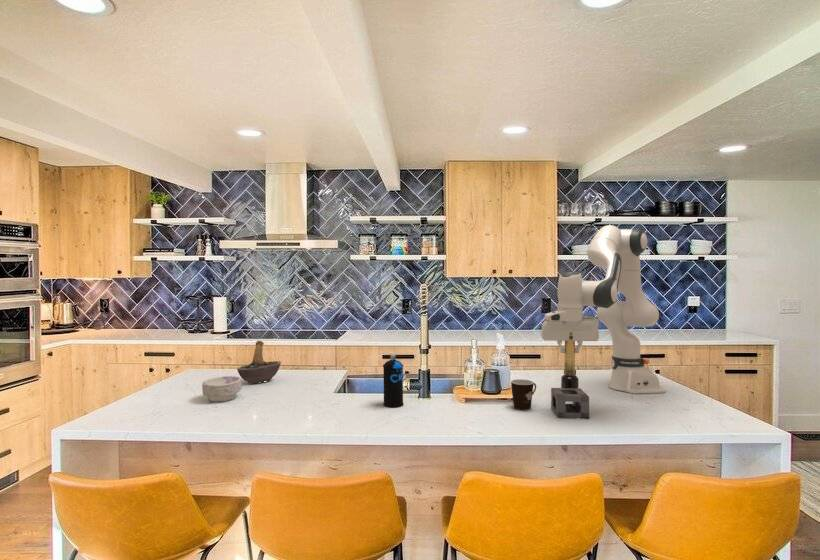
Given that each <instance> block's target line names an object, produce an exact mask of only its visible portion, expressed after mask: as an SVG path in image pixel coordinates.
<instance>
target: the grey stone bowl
mask: <svg viewBox="0 0 820 560" xmlns="http://www.w3.org/2000/svg"><path fill="white" fill-rule="evenodd" d="M201 386H202V388H201V389H202V395H203V396H204V397H205V396H206V397H207V399H208V400H209V401H210V402H216V403H218V402H220V403H221V402H227V401H230V400H233V399H234V398H236V396H237V395H238V393H240V392H241V391H242V388H243V386H242V378H241V376H236V375H234V376H233V375H228V376H227V375H226V376H217V377H213V378H208V379H206V380H204V381H203V382H202V385H201Z"/></svg>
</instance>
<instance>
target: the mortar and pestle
mask: <svg viewBox="0 0 820 560" xmlns="http://www.w3.org/2000/svg"><path fill="white" fill-rule="evenodd" d="M264 343H265V342H263V341H262V340H257V341H256V342H255V349H254V354H253V357H252V362H251V363H249V364H245V365H243V366H240V367H237V369H236V370H237V373H238V375H239V377H240V378H241V380H244V382H247V383H248V384H249V383H258V384H260V383H259V382H264V381H268V380H270V381H271V380H272V378H273V377H275V376H276V375H277V373H278V371H279V369H280V366H281V364H282V363H281V361H275V360H274V361H265V360H264V357H263V346H264ZM268 382H269V381H268ZM264 383H265V382H264Z"/></svg>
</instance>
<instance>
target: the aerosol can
mask: <svg viewBox="0 0 820 560" xmlns="http://www.w3.org/2000/svg"><path fill="white" fill-rule="evenodd" d="M382 367H383V403H382V406H384V407H385V408H389V409H391V408H392V409H394V408H395V409H396V408H400V407H403V406H404V405H405V404H404V375H403V374H404V364H402V362H401V361H400V360H397V358H396V354H390V360H387V361H385V363H384V364H383V365H382Z"/></svg>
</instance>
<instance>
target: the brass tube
mask: <svg viewBox="0 0 820 560" xmlns="http://www.w3.org/2000/svg"><path fill="white" fill-rule="evenodd" d="M569 334H570V336H569V340H568V341H564V348H565V353H564V368H563V375H564V374H565V375H569V376H573V375H575V370H576V368H575V367H576V366H575V365H576V364H575V363H576V360H575V359H576V353H575V348H576V341H573V336H572V335H573V332H569Z"/></svg>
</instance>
